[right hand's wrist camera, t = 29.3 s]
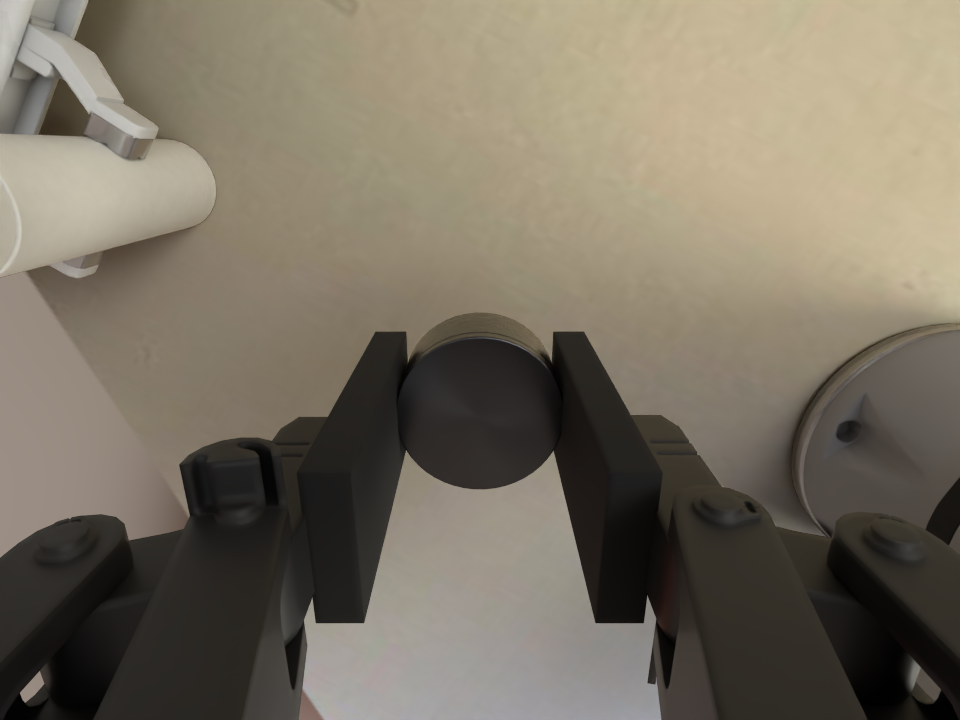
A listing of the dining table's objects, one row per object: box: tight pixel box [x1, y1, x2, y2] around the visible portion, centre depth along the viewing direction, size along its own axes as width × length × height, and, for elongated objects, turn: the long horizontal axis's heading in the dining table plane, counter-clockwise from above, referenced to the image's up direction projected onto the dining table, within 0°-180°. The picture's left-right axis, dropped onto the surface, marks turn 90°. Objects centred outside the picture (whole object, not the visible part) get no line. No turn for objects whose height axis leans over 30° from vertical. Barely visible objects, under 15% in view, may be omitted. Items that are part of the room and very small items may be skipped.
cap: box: [397, 313, 563, 489], centre depth 13 cm, size 4×4×2 cm
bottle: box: [0, 134, 216, 278], centre depth 21 cm, size 4×4×19 cm
